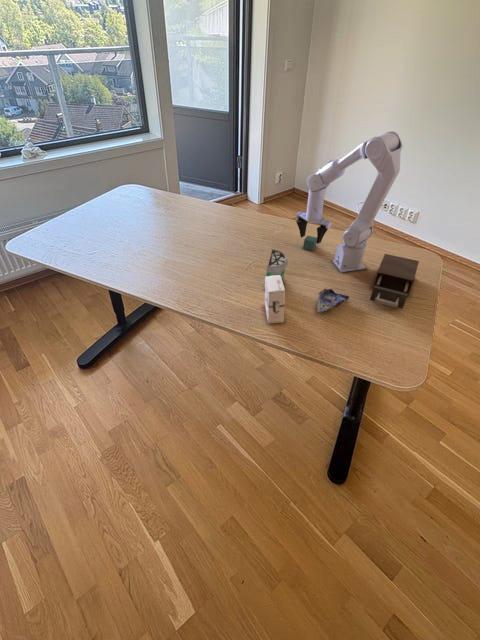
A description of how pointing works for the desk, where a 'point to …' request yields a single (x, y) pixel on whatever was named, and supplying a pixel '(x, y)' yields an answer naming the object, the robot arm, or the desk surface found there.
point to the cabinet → (398, 269)
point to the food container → (277, 263)
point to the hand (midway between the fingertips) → (310, 239)
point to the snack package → (329, 300)
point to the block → (310, 243)
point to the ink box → (274, 299)
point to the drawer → (390, 291)
